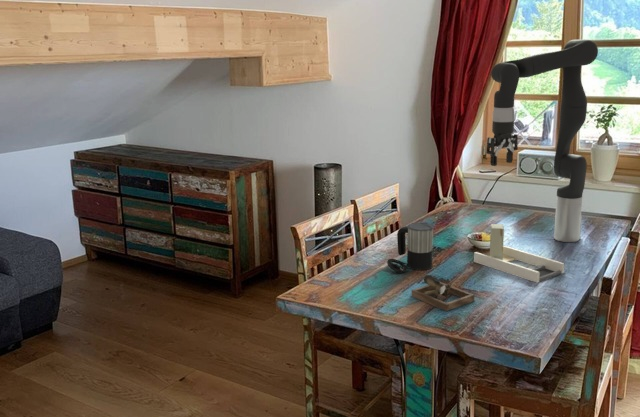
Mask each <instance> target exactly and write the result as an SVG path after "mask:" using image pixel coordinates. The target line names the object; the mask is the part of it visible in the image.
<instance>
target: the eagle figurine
mask: <svg viewBox="0 0 640 417" xmlns="http://www.w3.org/2000/svg"><path fill="white" fill-rule="evenodd" d="M423 280H424V283H425V284H426V285H429V286H430V287H433V288H435V290H431V291H427V292H425V293H424V294H426V295H429V296H431V297H433V298H435V297H436V296H439V295H440V296H444V298H445V299H446V300H448V296H449V294H450V293H449V290H450V288H451V286H453V285H452V283H453V281H451V282H450V284H449V283H446V284H447V289H446V288H445V285H444V286H442V287H441V284H440V282H441V281H439V280H437V279H435V278H434V276H433V275H430V274H428V275H427V274H426V275H425V276H424V277H423Z"/></svg>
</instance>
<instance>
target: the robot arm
mask: <svg viewBox="0 0 640 417" xmlns="http://www.w3.org/2000/svg"><path fill="white" fill-rule="evenodd" d="M598 52H599V49H598V45H597V44H596V43H595V42H594V41H592V40H591V39H571V40H569V41H568V42H566V44H564V47H563V49H561V50H556V51H550V52H544V53H537V54H534V55H530V56H529V55H528V56H525V57H522V58H519V59H514V60H507V61H503V62H499V63H497V64H495V65H494V66H493V67H492V69H491V72H490V76H491V79H492V80H493V81H495V82H496V83H498V84H500V85H499V86H500V87H499V90H496V91H495V93H494V96H493V111H492V124H491V125H492V126H491V130H492V131H491V132H492V134H493V137H487V139H486V142H487V143H486V152H485V153H486V154H487V155H490V165H491V166H493V167H496V166H497V165H498V154H499V152H501V150H502V149H504V148H505V150H506V158H505V161H506V163H509V164H511V163H513V159H514V153H515V151H518V148H519V147H518V144H519V142H518V137H519V135H518V134H517V133H514V132H515V130H514V129H515V94H516V91H517V89H518V85H519V80H520V78H521V79H522V78H530V77H533V76H537V75H542V74H544V73H548V72H551V71H555V70H558V69H562V87H561V98H560V99H561V102H560V109H559V126H558V135H557V142H556V147H555V148H556V149H555V154H554V159H553V172H554V175H555V176H556V177H559V178H563V179H568V180H569V183H568V185H563V186H559V187H558V188H557V189H556V202H555V217H554V218H555V219H554V234H553V235H554V236H553V238H554V240H556V241H557V242H558V241H559V242H563V243H576V242H578V241H580V239H581V236H582V235H581V234H582V220H583V216H582V207H583V206H582V203H583V193H584V189H585V185H586V184H585V183H586V177H587V176H586V175H587V169H588V164H587V159H586V157H585V156H583V155H580V154H571V153H570V150H571V145H572V142H573V139H574V138H575V136H576V135H577V134H578V132H579V131H580V130H581V128H582V127H583V125H584V124H585V122H586V118H587V111H588V98H587V95H586V92H585V89H584V86H583V82H582V74H581V73H582V67H583V66H588V65H590V64H592V63H593V62H594V61H595V60H596V59H597V57H598V55H599V53H598Z"/></svg>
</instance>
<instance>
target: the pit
mask: <svg viewBox="0 0 640 417" xmlns="http://www.w3.org/2000/svg"><path fill="white" fill-rule="evenodd" d="M532 270H535V271H538V272H540V275H539V282H538V283H540V282H543V281H546V280H548V279H551V278H554V277H557V276H559V275H562V274H561V271H560V270H558V271H552V270H549V269H545V266H544V265H543V266H540V267H538V266H536V268H535V267H534V268H532Z"/></svg>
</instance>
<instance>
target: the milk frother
mask: <svg viewBox="0 0 640 417" xmlns="http://www.w3.org/2000/svg"><path fill="white" fill-rule="evenodd" d="M434 228H435V226H434V225H433V224H432V223H427V222H421V221H419V222H411V223H409V224H407V225H405V226H402V227H400V228H399V229H398V231H397V235H396V237H397V238H396V240H397V241H396V242H397V253H398V255H399V256H403V255H405V254H407V255H406V258H407V259H406V262H404V261H401V260H399V259H395V258H389V259H388V260H387V261H386V264H387V267H388V268H389V269H391V270H392V271H394V272H395V273H400V274H401V273H406V272H407V271H408V268H409V269H410V270H411V269H412V270H417V271H419V270H420V271H422V270H424V271H425V270H429V269H432V268H433V266H434V263H433V239H434ZM406 234H407V244H406ZM406 245H407V248H406ZM406 249H407V250H406ZM406 252H407V253H406Z"/></svg>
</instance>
